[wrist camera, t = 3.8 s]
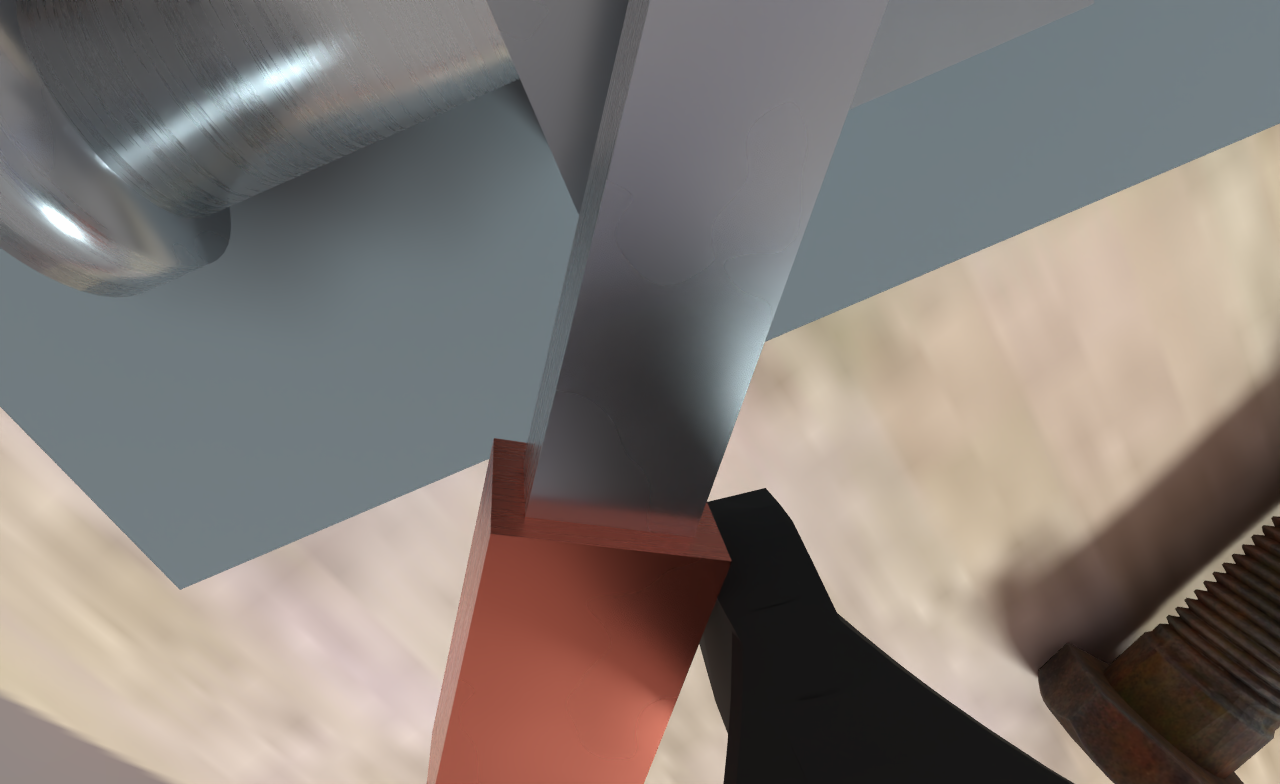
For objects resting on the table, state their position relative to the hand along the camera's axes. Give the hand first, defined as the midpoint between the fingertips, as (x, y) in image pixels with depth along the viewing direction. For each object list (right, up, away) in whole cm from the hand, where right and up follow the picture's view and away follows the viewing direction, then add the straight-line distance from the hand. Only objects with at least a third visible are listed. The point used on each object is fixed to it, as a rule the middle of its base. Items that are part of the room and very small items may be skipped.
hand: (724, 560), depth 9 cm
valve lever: (-1, +3, -2) cm, 4 cm away
